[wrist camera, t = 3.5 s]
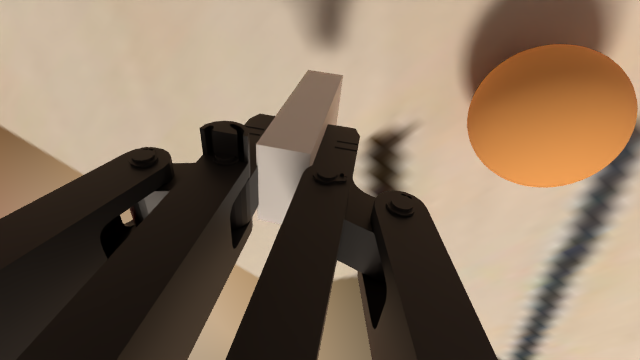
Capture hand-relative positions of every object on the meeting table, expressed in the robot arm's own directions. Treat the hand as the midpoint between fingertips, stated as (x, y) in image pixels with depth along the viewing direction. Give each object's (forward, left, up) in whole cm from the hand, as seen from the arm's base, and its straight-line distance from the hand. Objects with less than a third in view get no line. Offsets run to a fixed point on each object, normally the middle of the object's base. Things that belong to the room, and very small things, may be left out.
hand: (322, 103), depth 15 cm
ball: (0, +10, -1) cm, 10 cm away
